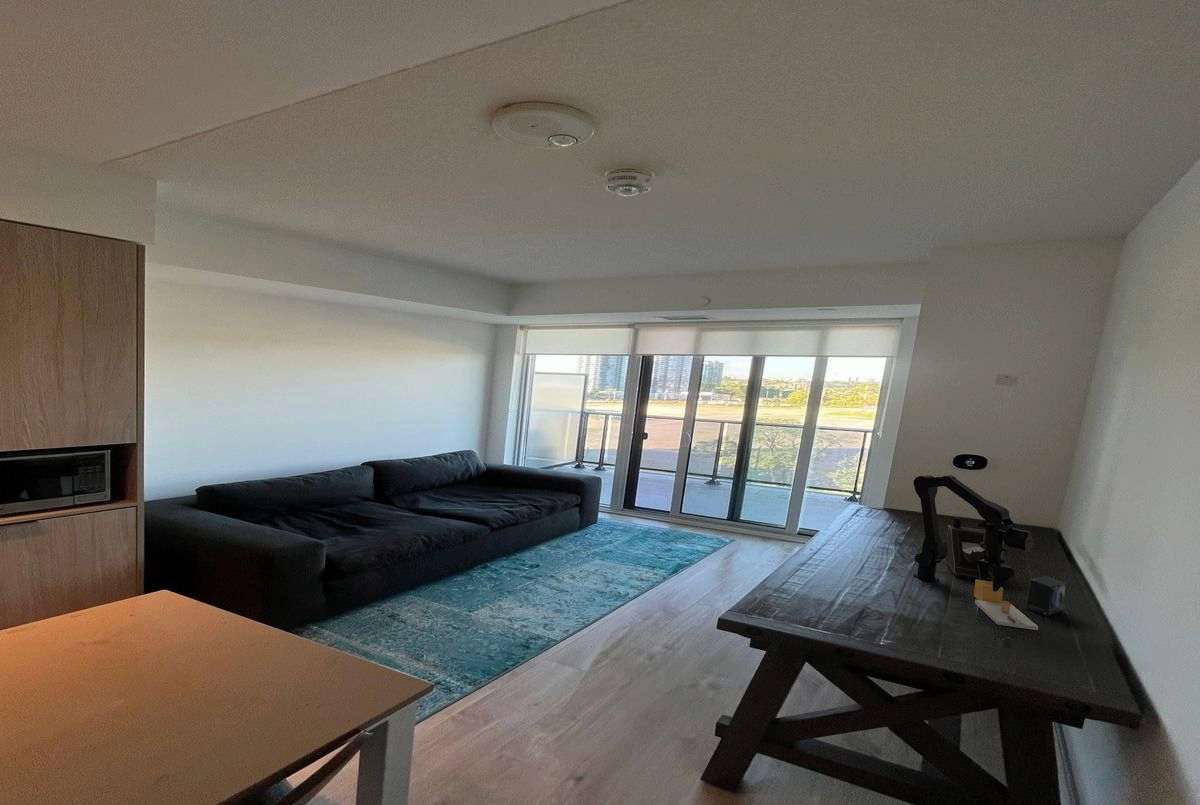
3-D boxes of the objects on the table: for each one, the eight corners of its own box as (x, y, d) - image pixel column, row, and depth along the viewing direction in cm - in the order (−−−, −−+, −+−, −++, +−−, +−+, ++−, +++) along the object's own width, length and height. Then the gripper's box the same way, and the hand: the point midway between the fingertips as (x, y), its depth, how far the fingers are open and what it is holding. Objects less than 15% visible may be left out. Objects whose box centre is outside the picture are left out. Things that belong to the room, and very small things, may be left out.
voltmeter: (953, 577, 208) (958, 526, 206) (944, 563, 223) (949, 516, 221) (1003, 585, 202) (1009, 533, 200) (990, 570, 217) (995, 522, 215)
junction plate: (974, 603, 184) (976, 589, 184) (1011, 608, 181) (1012, 594, 181) (998, 625, 168) (999, 610, 168) (1038, 631, 165) (1040, 616, 165)
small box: (1048, 617, 176) (1052, 586, 175) (1025, 608, 182) (1028, 579, 181) (1063, 612, 181) (1067, 581, 180) (1040, 603, 186) (1044, 574, 186)
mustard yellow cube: (973, 595, 190) (975, 579, 190) (993, 598, 189) (994, 581, 188) (981, 602, 184) (983, 586, 184) (1001, 605, 183) (1003, 588, 183)
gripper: (956, 531, 196) (951, 572, 197) (979, 548, 178) (974, 593, 179) (990, 535, 194) (986, 577, 195) (1017, 552, 175) (1012, 598, 177)
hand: (988, 586), depth 186 cm, fingers open, 9 cm apart
